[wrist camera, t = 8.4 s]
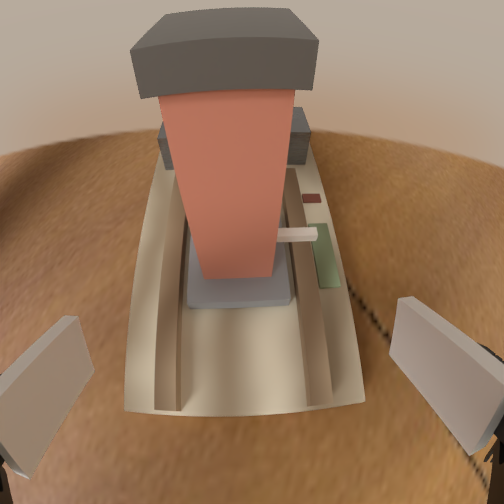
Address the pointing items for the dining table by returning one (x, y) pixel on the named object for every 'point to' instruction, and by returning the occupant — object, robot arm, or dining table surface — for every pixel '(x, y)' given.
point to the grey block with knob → (296, 143)
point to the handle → (230, 141)
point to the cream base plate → (240, 320)
